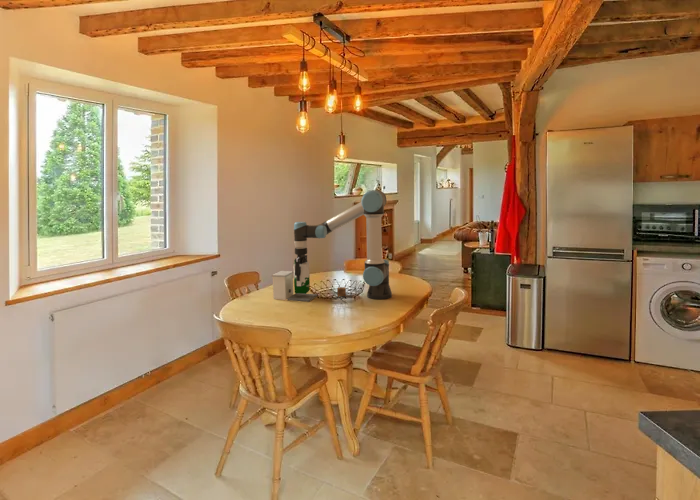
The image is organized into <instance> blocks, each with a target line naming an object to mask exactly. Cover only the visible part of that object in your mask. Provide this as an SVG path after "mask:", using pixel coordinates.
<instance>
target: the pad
mask: <svg viewBox="0 0 700 500" xmlns="http://www.w3.org/2000/svg"><path fill="white" fill-rule="evenodd" d="M293 294H294V295H292V296H291V297H289V298H288V299H286V300H287V301H292V302H307V303H309V302H311V301H313V300H314V298H317V297H318V294H317V293H306V294H301V293H293Z"/></svg>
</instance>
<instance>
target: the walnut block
mask: <svg viewBox="0 0 700 500" xmlns="http://www.w3.org/2000/svg"><path fill="white" fill-rule="evenodd" d="M346 290H347V288H346V287H344V286H340V287H339V286H338V287H337V294H336V295H337V298H340V297H339V296H346V297H347V291H346Z"/></svg>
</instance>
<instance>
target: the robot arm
mask: <svg viewBox="0 0 700 500" xmlns="http://www.w3.org/2000/svg"><path fill="white" fill-rule="evenodd" d="M386 204H387V196H386V194H385V192H383V191H382V190H379V189H375V190H374V189H373V190H368V191H367V192H365V193H364V194H363V195H362V197H361V200H360V202H358V203H356V204H354V205H352V206H351V207H349V208H346V210H343V211H342V212H340V213H338V214H336V215H334V216H332V217H331V218H328V219H327V220H325V221H323V222H321V223H318V224H316V225H315V224H313V225H311V224H309V225H308V224H307V222H306V221H295V222H294V224H293V235H294V236H293V237H294V240H293V244H294V254H295V255H296V256H297V257H296V258H294V260H295V262H294V263H295V276H296V278H297V286H301V275H300V274H301V267H300V264H303V263H306V262H308V255H307V254H308V248H307V247H308V239H325V238H326V237H327V235H329V234H330V233H332V232H334V231H336V230H337V229H340V228H342V227H344V226H345V225H347V224H349V223H351V222H352V221H354V220H356V219H358V218H360V217H362V216H364V217H365V218H366V219H365V220H366V221H365V223H366V227H365V228H366V230H365V231H366V259H365V261H364V270H363V273H362V279H363V281H364V282H365V283H366V284H367V285H368V290H367V292H366V296H367V298H369V299H373V300H388V299H391V298H392V296H393V293H392V292H393V291H392V289H391V287H390V263H389V262H390V261H389V260H388V259H383V250H382V249H383V245H382V244H383V241H382V240H383V237H382V217H383V216H384V215H385V207H386Z"/></svg>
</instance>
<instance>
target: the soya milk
mask: <svg viewBox="0 0 700 500" xmlns="http://www.w3.org/2000/svg"><path fill="white" fill-rule="evenodd" d="M292 267H293V290H294V294H296V293H301V294H308V293H309V292H310V281H311V279H310V262H308V261H307V262H306V263H303V264H300V267H301V274H300V275H301V286H297V278H296V276H295V259H294V262H293V264H292Z"/></svg>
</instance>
